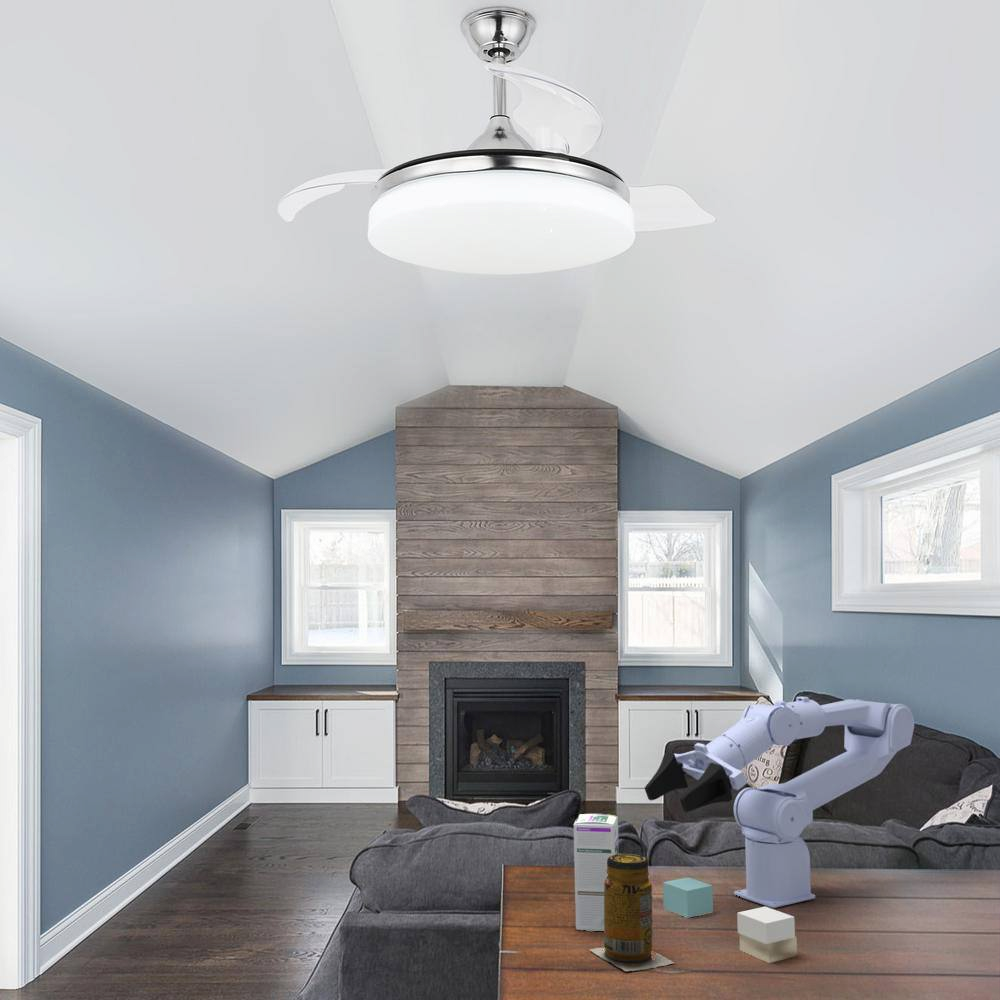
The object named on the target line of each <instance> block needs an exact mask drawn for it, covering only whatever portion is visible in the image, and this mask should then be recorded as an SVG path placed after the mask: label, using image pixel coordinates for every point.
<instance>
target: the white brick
mask: <svg viewBox="0 0 1000 1000" xmlns="http://www.w3.org/2000/svg"><path fill="white" fill-rule="evenodd" d="M736 915H737V916H736V917H737V918H736V919H737V933H738V934H739V933H740V934H742V935H745V936H747V937H750V938H752V939H755V940H757V941H760V942H762V943H765V944H770V943H774V942H778V941H782V940H786V939H790V938H794V937H796V929H795V928H796V926H795V916H793V915H792V914H791V915H790V914H788V913H785V912H782V911H779V910H776V909H775V908H771V907H768V906H761V907H756V908H752V909H748V910H743V911H739V912H737V913H736Z"/></svg>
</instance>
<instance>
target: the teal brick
mask: <svg viewBox="0 0 1000 1000" xmlns="http://www.w3.org/2000/svg"><path fill="white" fill-rule="evenodd" d="M662 888H663V889H662V893H663V894H662V898H663V899H662V900H663V902H662V903H663V905H662V906H663V907H662V908H665V909H667V910H669V911H672V912H675V913H677V914H679V915H681V916H684V917H687V918H689V917H692V916H695V915H700V914H704V913H709V912H713V913H714V898H713V897H714V892H713V891H714V890H713V888H714V887H713V885H712V884H709V883H707V882H704V881H700V880H697V879H696V878H691V877H689V876H688V877H682V878H679V879H673V880H668V881H664V882H662ZM681 916H680V917H681Z"/></svg>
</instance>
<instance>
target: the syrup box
mask: <svg viewBox="0 0 1000 1000" xmlns="http://www.w3.org/2000/svg"><path fill="white" fill-rule="evenodd" d="M619 848H620V846H619V817H618V815H615V814H606V813H584V814H583V813H582V814H581V813H580V814H579V815H578V817H577V818H576V819H575V820H574V823H573V854H574V855H573V860H574V861H573V862H574V864H573V865H574V866H573V867H574V909H575V910H574V912H575V913H574V914H575V929H576V930H579V931H583V930H586V931H585V932H593V931H604V882H605V879H606V878H607V876H608V874H607V859H608V858H609V857H610V856H612V855H615V854H620V852H619V850H620V849H619Z"/></svg>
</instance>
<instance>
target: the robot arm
mask: <svg viewBox="0 0 1000 1000" xmlns="http://www.w3.org/2000/svg"><path fill="white" fill-rule="evenodd" d="M795 700H796V701H789V702H786V701H784V700H776V701H775V702H774V704H772V705H768V704H761V703H757V704H753V705H750V704H749V705H748V706H746V708H745V709H744V711H743V712H742V715H741V718H740V720H738V721H737V722H736V723H735V724H734V725H733V726H731V727H729V728H728V729H726V730H725V731H724V732H722V733H721V734H720V735H718V736H717V737H716V738H714V739H712V741H710V742H709V743H707V744H704V743H700V742H697V743H695V744H694V745H693V748H694V750H690V751H687V752H684V753H672V752H666V753H665V754H664V755H663V757H662V760H661V762H660V765H659V767H658V769H657V770H656V772H655V774H654V775H653V776H652V777H651V779H650V780H649V781H648V783H647V784H646V785H645V786H644V791H645V793H646V796H647V797H646V798H647V799H648V800H649V801H654V800H655V801H656V800H657V799H660V798H661V797H664V795H666V794H668V793H670V792H672V791H676V790H680V789H686V790H685V792H684V793H683V794H682V795H681V796H680V797H679V800H680V804H681V806H682V809H683V812H685V813H689V812H692V811H694V810H697V809H699V808H702V807H705V806H708V805H713V804H718V803H728V802H731V801H732V800H733V794H732V792H731V791H732V789H733V790H735V791H739V790H740V789H741V788H743V787H744V786H745V785H747V779H746V776H745V773H744V771H743V770H742V769H745V768H746V766H748V765H750V764H751V763H752V762H753V761H754V760H756V759H757V758H759V757H760V756H762V755H763V754H764V753H766V752H767V751H768V750H769V749H771V748H772V747H773V746H774V745H775V746H786V747H788V746H790V745H791V744H792V743H793V742H794V741H795V740H801V739H806V738H812V737H817V736H819V735H821V734H822V733H823V732H824V731H825V728H826V727H831V726H841V725H842V726H844V743H843V744H844V746H843V747H844V750H846V751H845V752H843V753H841V754H839V755H837V756H835V757H833V758H831V759H829V760H827V761H825V762H823V763H822V764H820V765H818V766H815V767H814V768H811V769H810V770H808V771H805V772H804V773H802V774H800V775H798V776H795V777H794V778H792V779H790V780H788V781H785V782H783V783H776V784H775V783H774V784H765V785H762V786H760V787H745V788H743V789H741V790H740V792H738V794H737V795H736V797H735V800H734V801H733V802H734V803H733V816H734V819H735V821H736V823H737V824H738V825H739V827H741V834H742V835H744V836H745V838H744V840H745V841H744V844H745V845H744V846H745V880H746V881H745V885H746V886H745V887H746V888H744V889H740V890H734V892H733V895H734V896H736V895H737V897H739V896H740V898H743V899H745V900H748V901H751V902H754V903H757V904H760V905H763V906H764V907H768V908H771V909H776V908H779V907H784V906H788V905H793V904H796V903H801V902H804V901H809V900H813V899H816V895H815V894H814V893H812V889H811V856H810V851H809V848H808V845H807V844H806V842H805V840H804V839H803V838H801V837H800V835H801V834H802V832H803V831H804V830H805V828H806V827H807V826H808V825H810V824H812V823H813V821H814V817H813V816H814V815H813V814H814V813H813V812H814V811H815V810H816V809H818V808H820V807H822V806H824V805H825V804H827V803H830V802H831V801H833V800H836V798H837V799H838V797H840V796H843V795H844V794H846V793H848V792H850V791H852V790H853V789H855V788H857V787H859V786H861V785H862V784H864V783H866V782H869V780H872V779H874V778H875V777H877V776H879V775H880V774H881V773H882V772H883V771H884V769H885V768H887V767H886V766H887V765H888V764H889V763H890V761H891V760H892V759H893V758H894V757H895V755H896V754H897V752H899V751H901V750H903V749H904V748H906V747H908V746H910V745H911V743H912V739H913V735H914V730H915V718H914V714H913V713H912V710H911V709H910V707H908V706H907V705H906V704H903V703H886V702H876V701H868V700H863V699H859V698H858V699H851V698H850V699H845V700H840V701H836V702H832V703H827V704H822V705H820V704H819V703H818V702H817V701H815V700H812V699H810V698H809V697H807V696H796V699H795ZM686 774H687V775H689V776H690V777H693V779H695V780H696V782H695V783H694V784H693V785H691V787H689V786H688V785H689V784H688V783H687V779H686V777H685V775H686ZM688 787H689V788H688ZM687 788H688V789H687Z"/></svg>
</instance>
